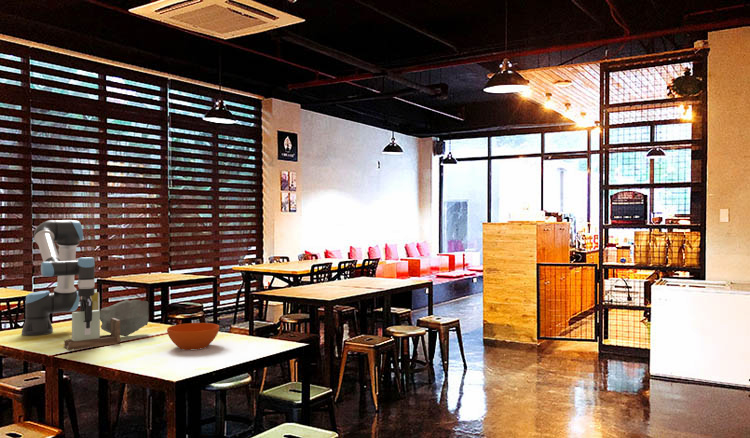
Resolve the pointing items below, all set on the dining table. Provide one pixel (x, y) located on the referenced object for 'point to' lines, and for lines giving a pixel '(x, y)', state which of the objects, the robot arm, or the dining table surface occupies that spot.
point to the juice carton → (95, 301)
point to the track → (101, 341)
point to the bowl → (193, 335)
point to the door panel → (78, 326)
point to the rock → (126, 316)
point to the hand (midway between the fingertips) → (86, 333)
